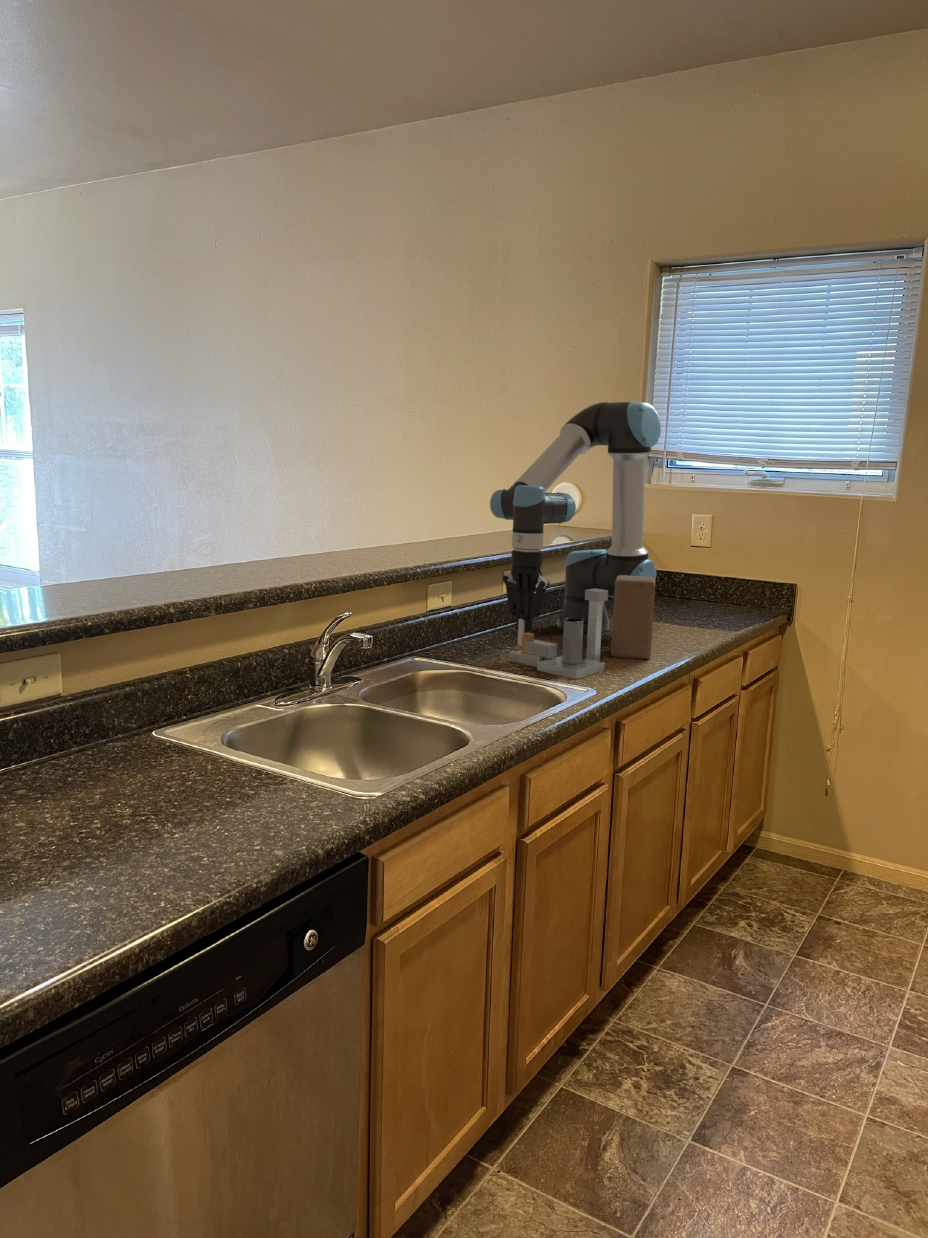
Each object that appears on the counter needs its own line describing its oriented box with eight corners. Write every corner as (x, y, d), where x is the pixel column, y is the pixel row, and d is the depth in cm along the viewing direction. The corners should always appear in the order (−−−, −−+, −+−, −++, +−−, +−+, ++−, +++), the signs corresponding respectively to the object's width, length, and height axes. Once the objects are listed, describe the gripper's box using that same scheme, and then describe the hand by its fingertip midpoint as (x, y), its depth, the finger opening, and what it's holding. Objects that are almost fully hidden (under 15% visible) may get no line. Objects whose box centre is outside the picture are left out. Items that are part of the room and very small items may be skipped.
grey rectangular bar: (529, 650, 227) (530, 633, 227) (556, 656, 222) (557, 638, 221) (521, 652, 225) (522, 635, 224) (548, 658, 220) (549, 640, 219)
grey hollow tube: (565, 659, 221) (567, 617, 219) (583, 661, 219) (585, 619, 217) (559, 663, 216) (561, 620, 214) (578, 665, 215) (580, 622, 213)
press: (544, 652, 237) (547, 581, 233) (616, 666, 223) (620, 592, 220) (502, 662, 224) (505, 588, 220) (576, 679, 210) (580, 600, 206)
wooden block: (650, 660, 231) (655, 581, 227) (610, 657, 233) (614, 579, 229) (650, 651, 241) (655, 576, 237) (612, 649, 242) (616, 574, 239)
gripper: (496, 548, 223) (493, 642, 228) (539, 553, 215) (535, 651, 219) (515, 546, 229) (511, 638, 233) (558, 551, 220) (553, 646, 225)
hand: (523, 644), depth 226 cm, fingers closed
